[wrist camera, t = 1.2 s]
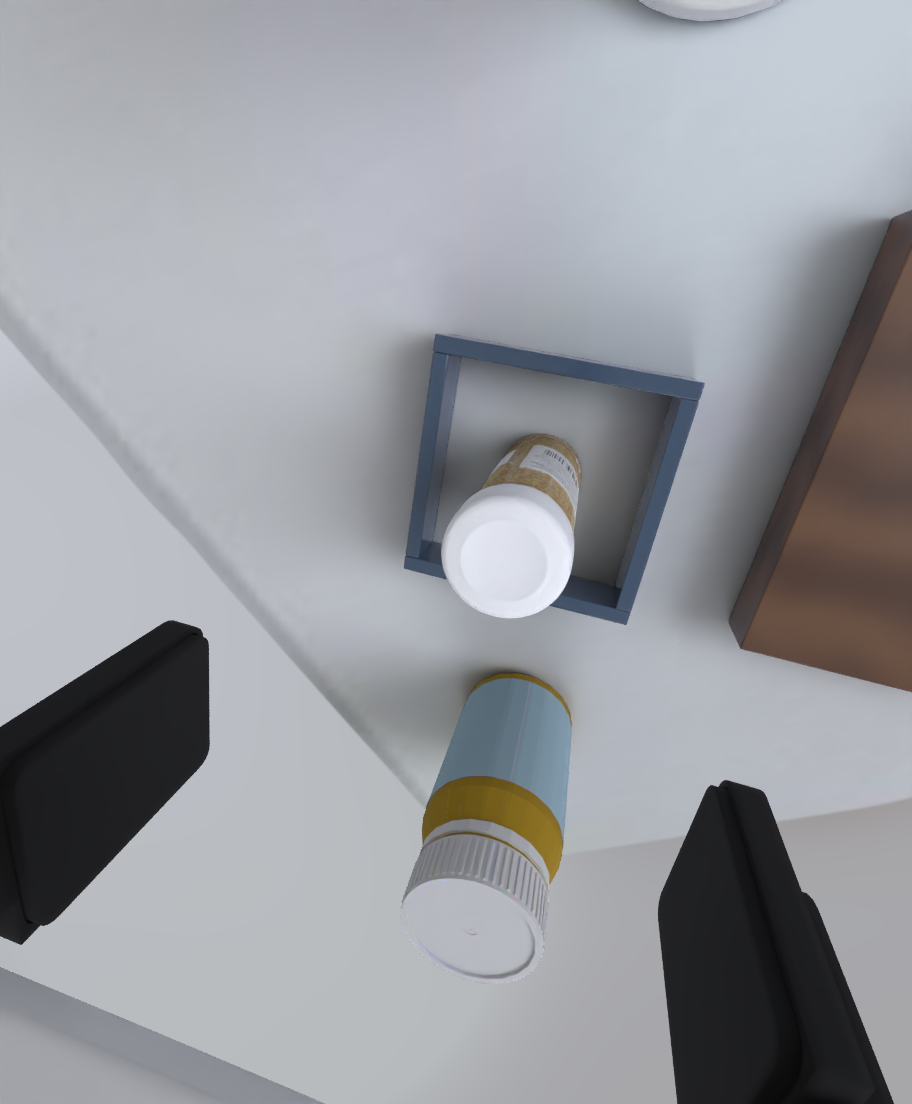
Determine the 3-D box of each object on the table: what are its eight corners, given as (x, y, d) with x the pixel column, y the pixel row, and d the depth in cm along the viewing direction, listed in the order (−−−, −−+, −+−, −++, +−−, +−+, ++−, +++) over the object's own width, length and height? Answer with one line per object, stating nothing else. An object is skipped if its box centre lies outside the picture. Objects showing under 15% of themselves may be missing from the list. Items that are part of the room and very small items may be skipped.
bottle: (581, 680, 35) (568, 900, 21) (562, 767, 38) (540, 1011, 24) (472, 657, 36) (395, 849, 23) (461, 742, 39) (386, 961, 25)
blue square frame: (450, 334, 30) (435, 333, 27) (695, 378, 28) (705, 383, 25) (418, 550, 34) (403, 568, 32) (624, 601, 32) (626, 625, 30)
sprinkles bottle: (487, 452, 31) (415, 525, 19) (564, 418, 30) (539, 474, 17) (520, 525, 32) (471, 638, 20) (596, 496, 31) (593, 600, 18)
